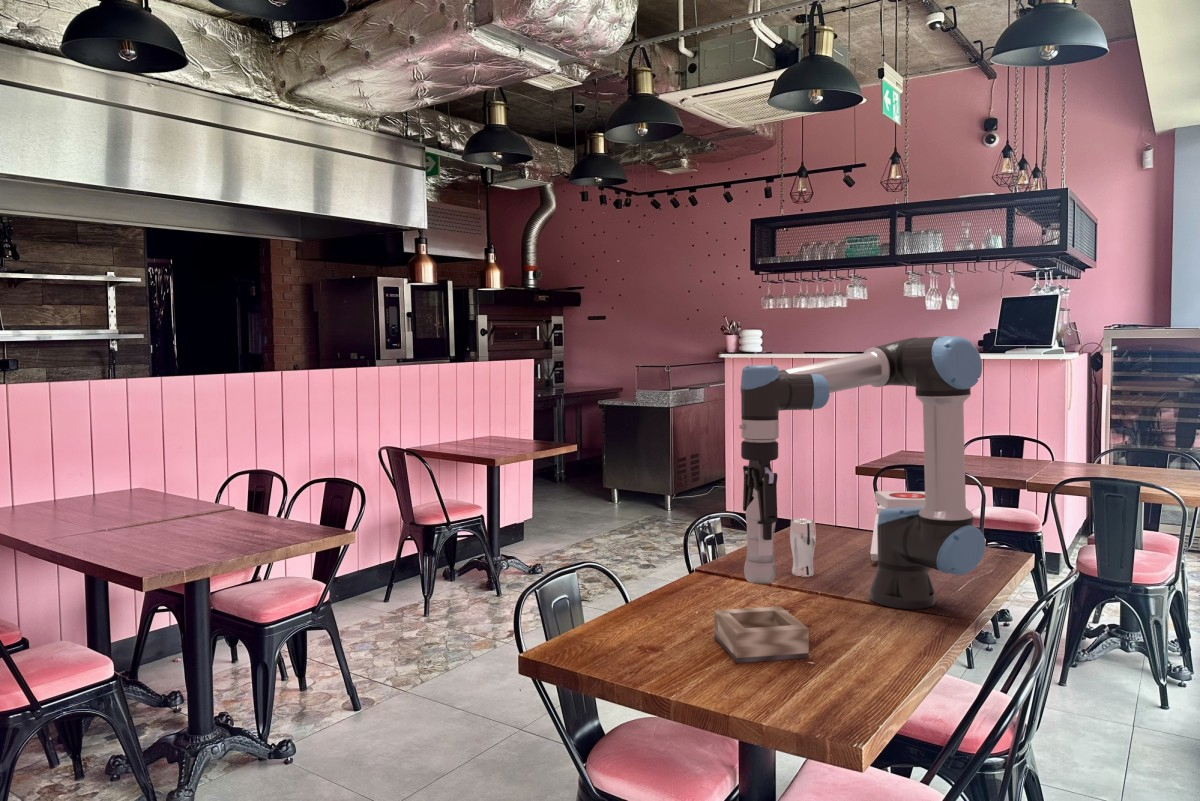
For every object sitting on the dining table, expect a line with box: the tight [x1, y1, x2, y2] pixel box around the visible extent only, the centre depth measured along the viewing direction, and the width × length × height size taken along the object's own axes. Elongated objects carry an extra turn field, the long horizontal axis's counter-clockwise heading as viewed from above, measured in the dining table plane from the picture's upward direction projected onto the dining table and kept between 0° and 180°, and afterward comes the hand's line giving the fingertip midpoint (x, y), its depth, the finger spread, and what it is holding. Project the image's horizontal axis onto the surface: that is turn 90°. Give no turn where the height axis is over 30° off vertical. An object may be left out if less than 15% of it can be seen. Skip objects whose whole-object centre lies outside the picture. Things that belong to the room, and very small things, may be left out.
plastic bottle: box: [743, 487, 777, 585], centre depth 171 cm, size 6×7×20 cm
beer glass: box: [789, 518, 817, 578], centre depth 229 cm, size 7×7×15 cm
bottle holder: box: [713, 605, 810, 664], centre depth 172 cm, size 15×15×6 cm
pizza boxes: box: [869, 490, 925, 562], centre depth 246 cm, size 19×30×18 cm, turn 154°
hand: (759, 550), depth 171 cm, fingers closed on plastic bottle, 6 cm apart
